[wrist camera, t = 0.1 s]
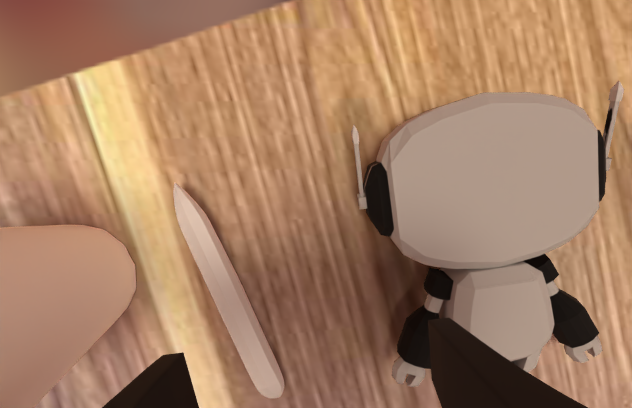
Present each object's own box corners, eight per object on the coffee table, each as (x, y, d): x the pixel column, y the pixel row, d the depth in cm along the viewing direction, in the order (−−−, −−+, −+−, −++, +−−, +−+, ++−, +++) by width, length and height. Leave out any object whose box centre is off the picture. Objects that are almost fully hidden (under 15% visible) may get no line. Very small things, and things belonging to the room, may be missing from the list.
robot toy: (571, 332, 21) (562, 84, 19) (638, 381, 17) (638, 65, 14) (376, 360, 22) (342, 120, 19) (392, 416, 17) (350, 113, 15)
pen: (195, 176, 20) (184, 177, 18) (291, 386, 21) (289, 404, 20) (171, 187, 20) (158, 188, 18) (268, 395, 21) (264, 414, 20)
